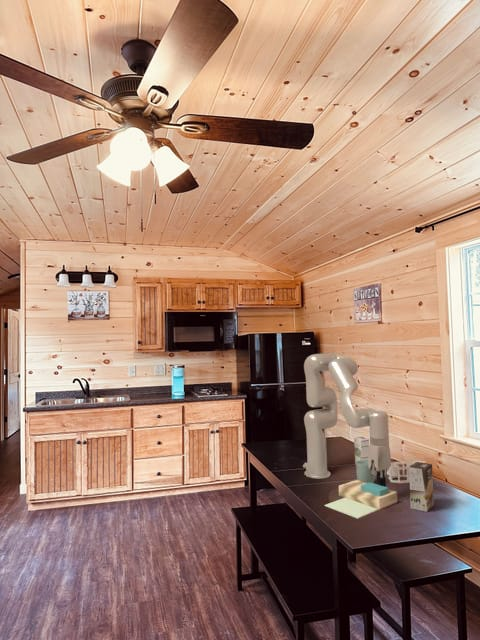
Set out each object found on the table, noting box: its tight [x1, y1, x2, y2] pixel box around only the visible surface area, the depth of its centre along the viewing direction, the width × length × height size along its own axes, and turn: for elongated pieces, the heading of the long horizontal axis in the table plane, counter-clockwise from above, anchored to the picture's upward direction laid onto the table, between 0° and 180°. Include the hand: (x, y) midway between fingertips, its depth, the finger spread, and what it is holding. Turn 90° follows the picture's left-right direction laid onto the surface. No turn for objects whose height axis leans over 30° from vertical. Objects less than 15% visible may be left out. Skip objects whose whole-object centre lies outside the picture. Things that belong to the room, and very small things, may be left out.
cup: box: [355, 460, 376, 484], centre depth 193 cm, size 8×8×10 cm
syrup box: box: [353, 436, 370, 466], centre depth 222 cm, size 6×6×14 cm
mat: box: [324, 497, 379, 519], centre depth 166 cm, size 16×12×1 cm
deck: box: [338, 479, 398, 511], centre depth 176 cm, size 20×12×4 cm, turn 37°
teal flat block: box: [361, 482, 390, 496], centre depth 172 cm, size 9×6×2 cm, turn 37°
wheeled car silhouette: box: [386, 460, 427, 484], centre depth 200 cm, size 20×11×7 cm, turn 99°
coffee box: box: [409, 462, 435, 513], centre depth 166 cm, size 9×6×16 cm
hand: (381, 486), depth 175 cm, fingers closed
